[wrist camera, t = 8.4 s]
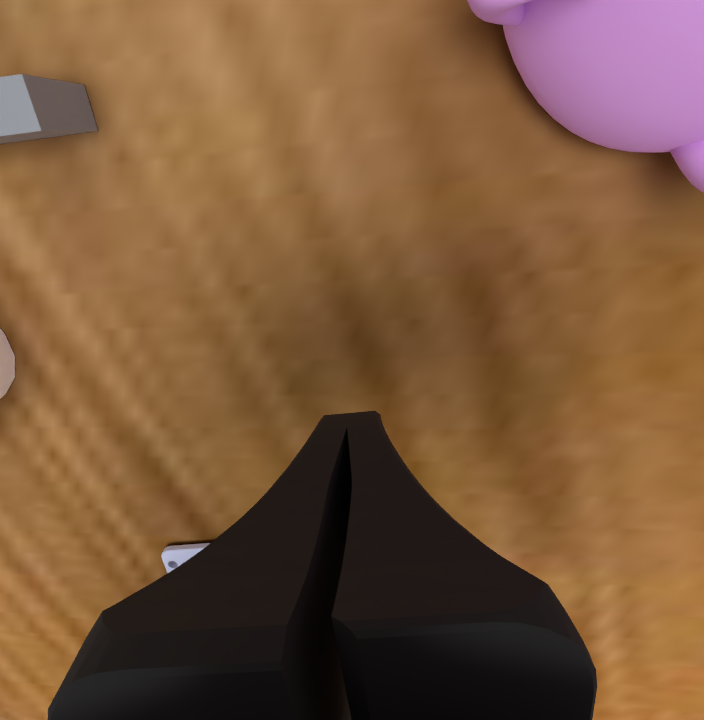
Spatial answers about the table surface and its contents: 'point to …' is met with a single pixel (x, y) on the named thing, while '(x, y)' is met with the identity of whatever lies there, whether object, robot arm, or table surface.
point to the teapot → (614, 70)
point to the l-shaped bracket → (42, 108)
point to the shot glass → (6, 365)
